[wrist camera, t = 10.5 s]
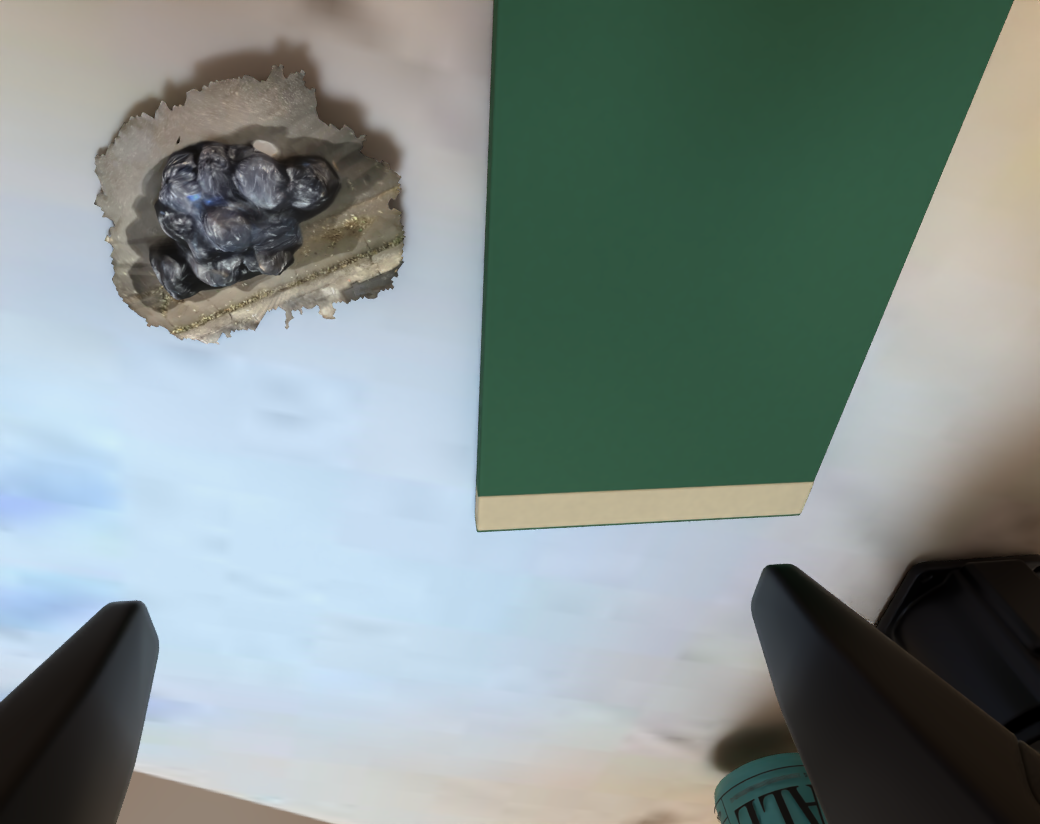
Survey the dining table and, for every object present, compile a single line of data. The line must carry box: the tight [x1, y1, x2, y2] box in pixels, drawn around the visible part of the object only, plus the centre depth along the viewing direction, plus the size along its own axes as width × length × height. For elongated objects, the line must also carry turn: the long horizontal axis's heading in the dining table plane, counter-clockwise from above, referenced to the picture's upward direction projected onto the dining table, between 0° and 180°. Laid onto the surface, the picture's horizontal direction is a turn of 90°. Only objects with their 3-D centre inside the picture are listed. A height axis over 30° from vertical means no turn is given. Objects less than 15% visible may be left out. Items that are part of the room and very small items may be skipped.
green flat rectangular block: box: [475, 0, 1014, 532], centre depth 18 cm, size 20×12×1 cm, turn 176°
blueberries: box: [94, 64, 405, 344], centre depth 16 cm, size 7×8×2 cm
